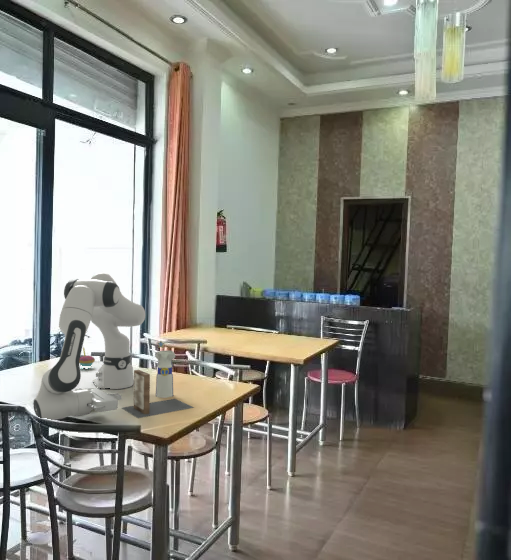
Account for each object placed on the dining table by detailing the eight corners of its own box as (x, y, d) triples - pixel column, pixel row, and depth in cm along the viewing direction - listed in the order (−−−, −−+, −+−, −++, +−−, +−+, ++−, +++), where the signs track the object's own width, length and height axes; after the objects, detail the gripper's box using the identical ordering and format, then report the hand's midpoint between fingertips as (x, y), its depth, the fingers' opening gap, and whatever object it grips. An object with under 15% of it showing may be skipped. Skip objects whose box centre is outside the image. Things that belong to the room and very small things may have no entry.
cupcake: (75, 369, 261) (75, 347, 261) (83, 366, 269) (83, 345, 269) (90, 370, 260) (90, 348, 259) (97, 367, 268) (97, 345, 268)
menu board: (133, 408, 191) (133, 370, 191) (138, 407, 193) (138, 369, 192) (144, 414, 184) (144, 375, 183) (149, 413, 185) (149, 374, 184)
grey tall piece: (175, 398, 208) (175, 340, 207) (154, 399, 206) (155, 340, 206) (175, 393, 216) (175, 337, 215) (155, 393, 214) (156, 337, 214)
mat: (120, 408, 191) (120, 407, 191) (174, 399, 206) (174, 398, 206) (138, 419, 179) (138, 418, 179) (194, 408, 194) (194, 407, 194)
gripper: (93, 400, 166) (131, 394, 174) (74, 387, 182) (109, 382, 191) (93, 418, 166) (131, 411, 175) (74, 404, 182) (109, 398, 191)
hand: (119, 396), depth 183 cm, fingers closed
